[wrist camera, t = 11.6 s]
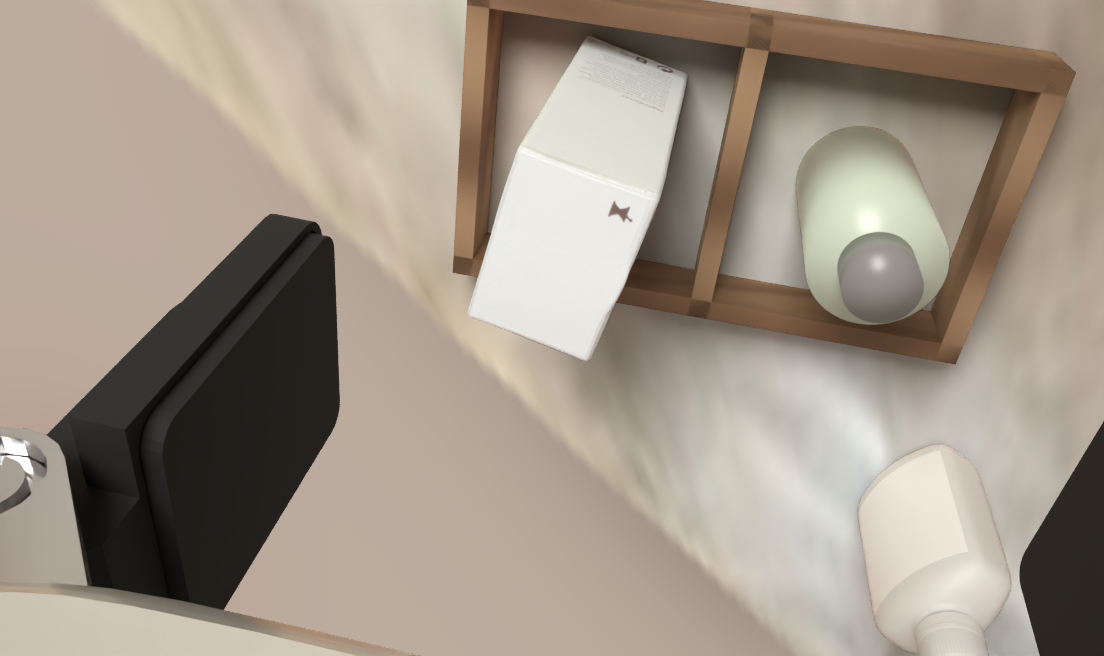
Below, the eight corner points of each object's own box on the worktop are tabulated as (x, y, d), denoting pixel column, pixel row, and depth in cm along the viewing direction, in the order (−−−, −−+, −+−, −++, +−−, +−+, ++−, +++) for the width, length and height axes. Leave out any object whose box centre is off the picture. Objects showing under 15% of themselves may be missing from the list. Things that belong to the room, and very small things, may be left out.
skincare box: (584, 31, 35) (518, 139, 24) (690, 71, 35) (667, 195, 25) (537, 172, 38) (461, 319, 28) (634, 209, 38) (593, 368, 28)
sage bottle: (811, 117, 35) (829, 212, 27) (930, 136, 34) (980, 237, 27) (783, 222, 37) (793, 336, 30) (894, 241, 37) (931, 361, 29)
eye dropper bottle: (838, 465, 43) (866, 681, 33) (964, 433, 41) (1036, 653, 31) (867, 532, 44) (903, 757, 34) (990, 505, 42) (1066, 735, 32)
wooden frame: (485, -32, 34) (468, -19, 32) (1054, 52, 32) (1075, 72, 30) (468, 246, 40) (453, 272, 38) (943, 331, 38) (955, 364, 36)
